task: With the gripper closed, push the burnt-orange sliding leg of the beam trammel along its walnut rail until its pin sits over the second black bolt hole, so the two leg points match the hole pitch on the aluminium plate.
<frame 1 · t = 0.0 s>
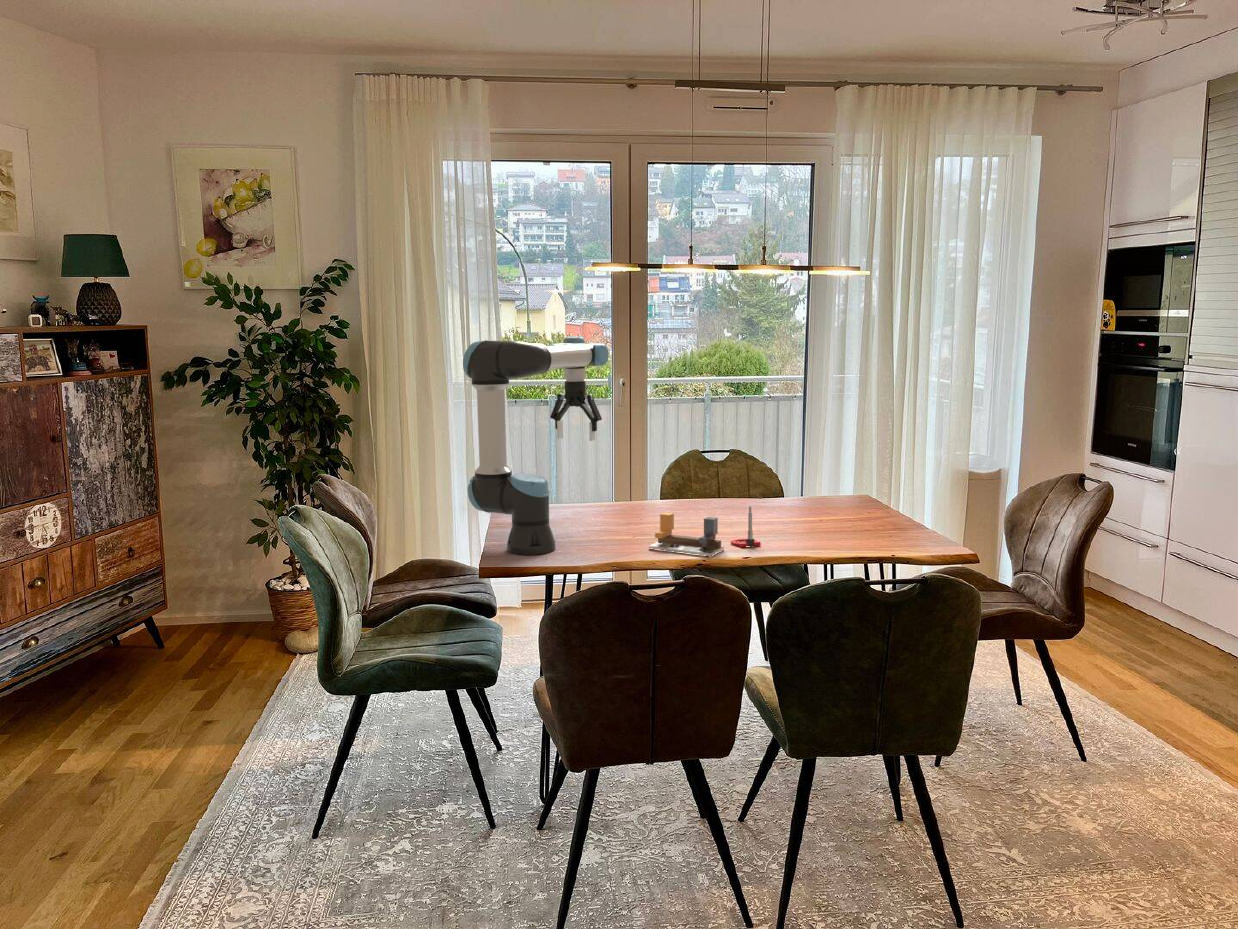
hand: (576, 439, 337), 28 cm above the table, tool pointing down, fingers open, 13 cm apart
fixed leg: (706, 552, 286), resting on bolt plate
tow hook: (744, 545, 296), on the table
bolt plate: (685, 549, 289), on the table
moving leg: (663, 528, 293), point 6 cm above the table, slide at 5.0 cm
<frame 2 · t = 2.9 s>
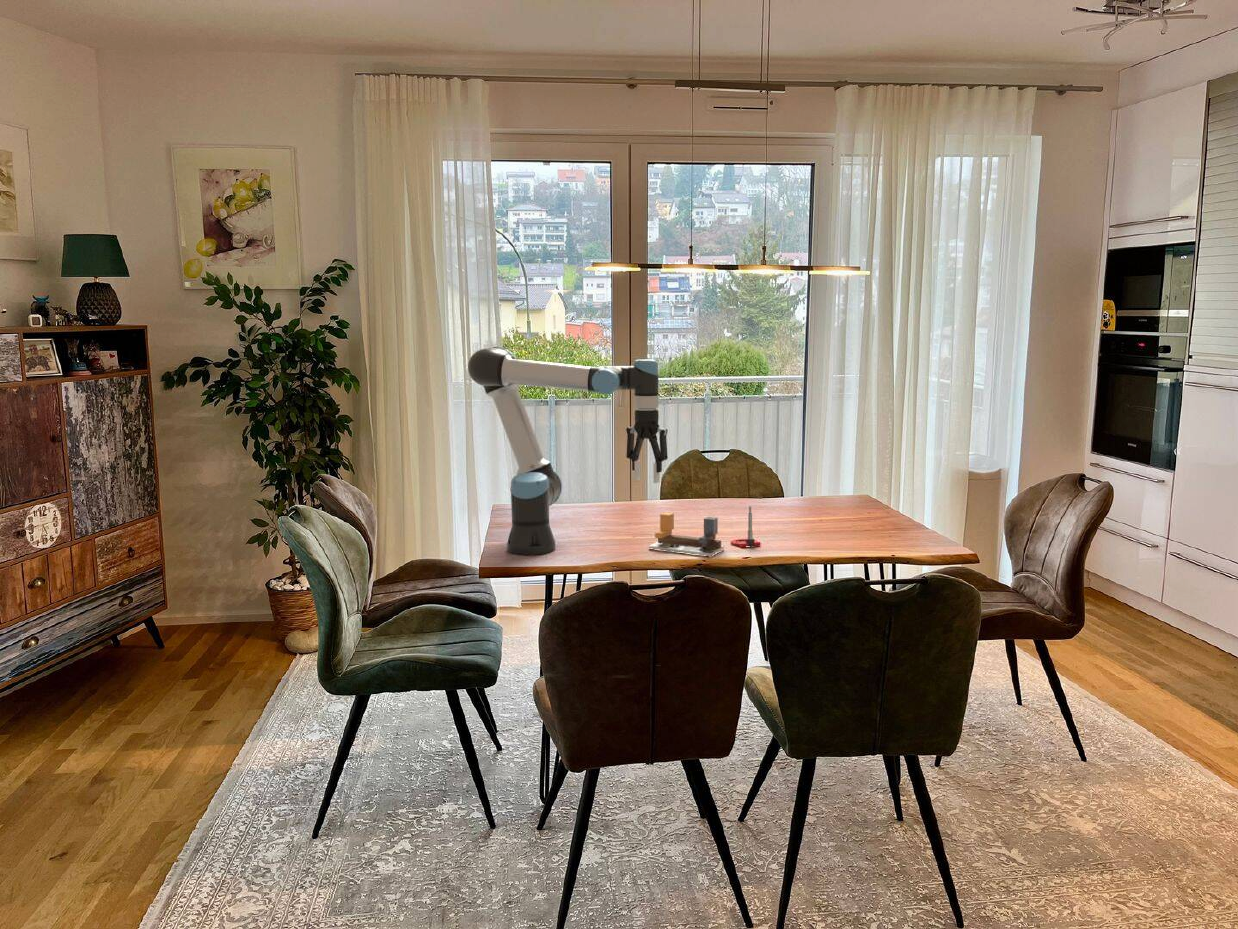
hand: (647, 481, 296), 20 cm above the table, tool pointing down, fingers open, 6 cm apart
nothing on the table moved.
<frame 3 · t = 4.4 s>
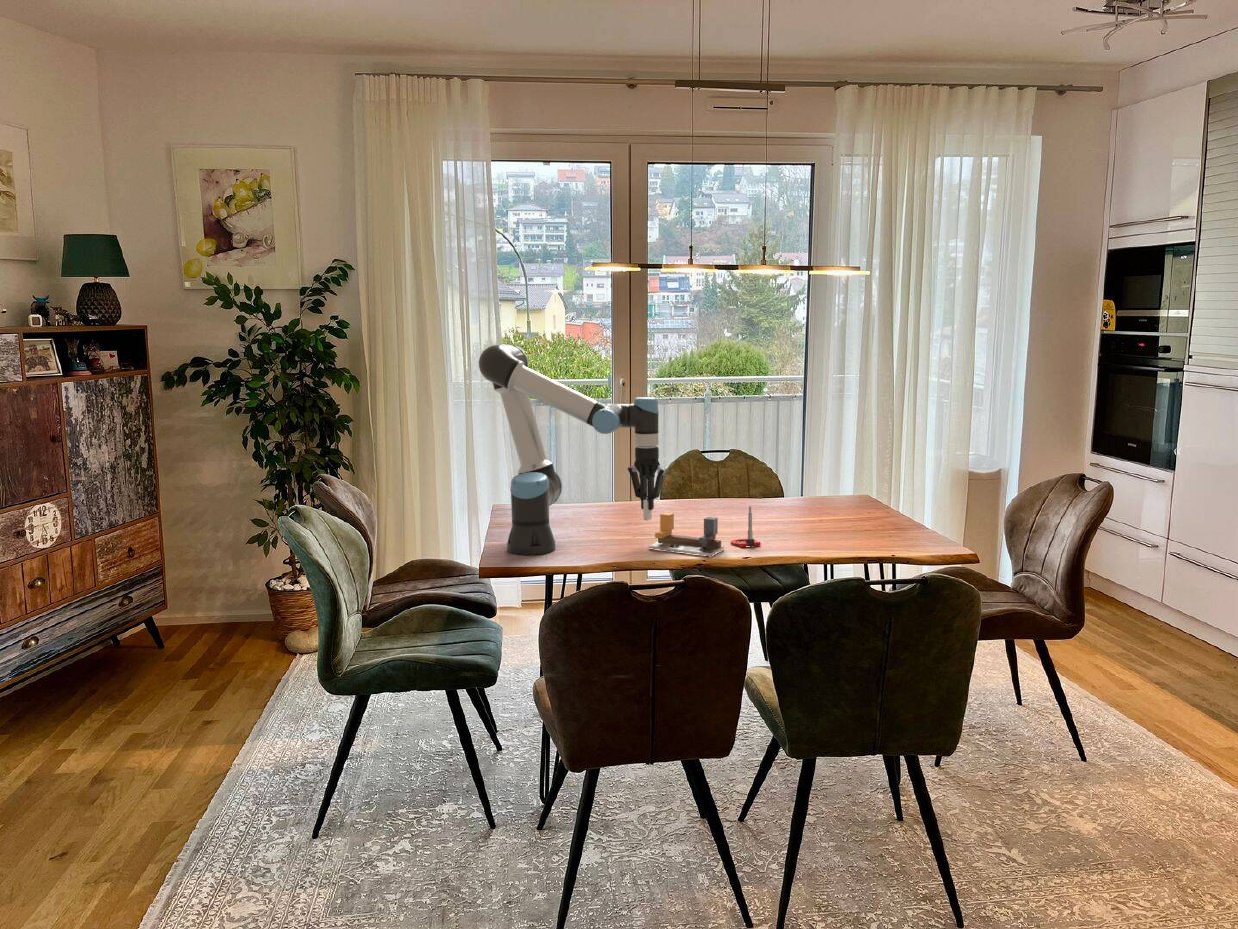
hand: (647, 519, 298), 8 cm above the table, tool pointing down, fingers closed
nothing on the table moved.
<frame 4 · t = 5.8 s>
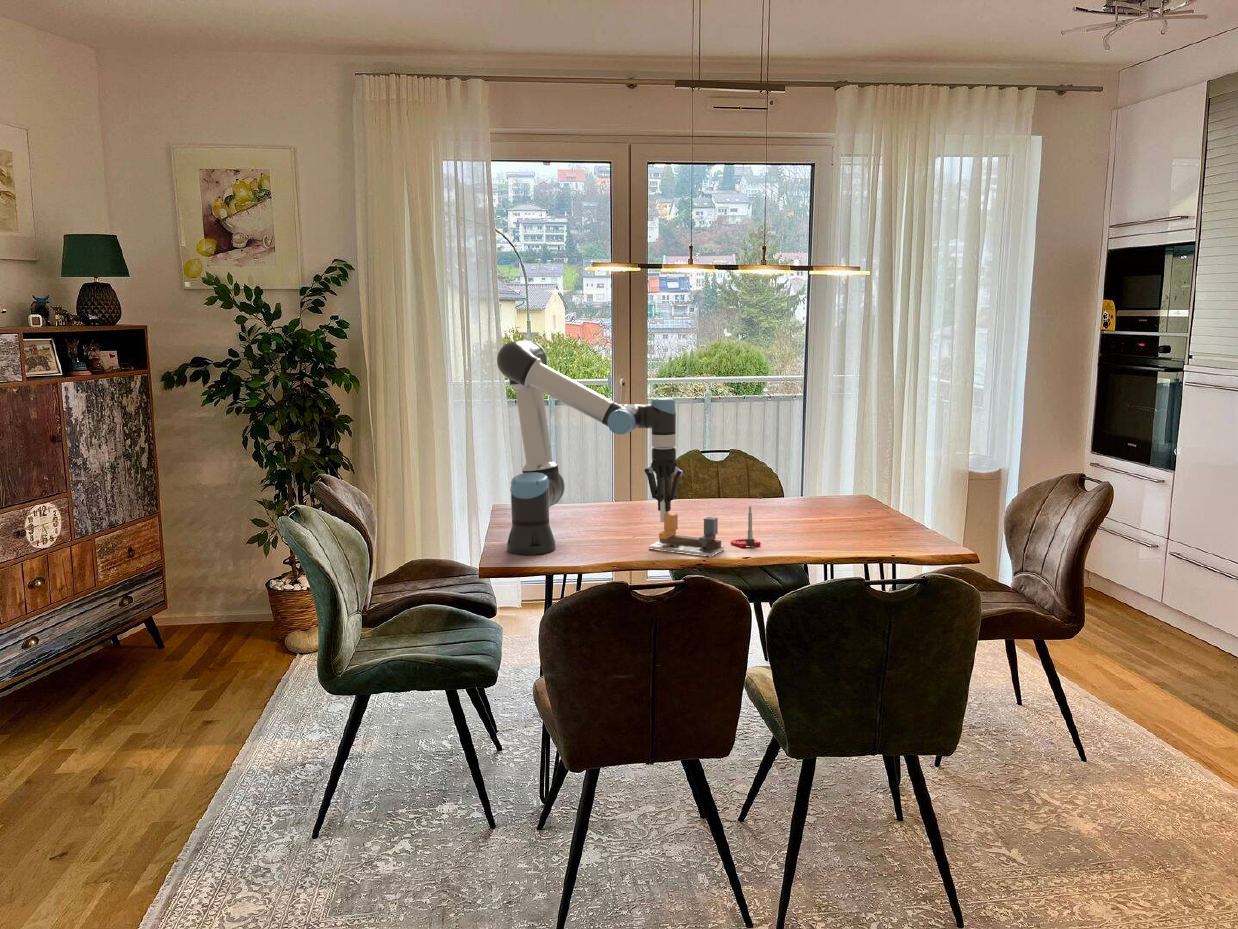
hand: (664, 521, 295), 8 cm above the table, tool pointing down, fingers closed
moving leg: (667, 528, 292), point 6 cm above the table, slide at 3.6 cm, touching gripper
everything else where it was.
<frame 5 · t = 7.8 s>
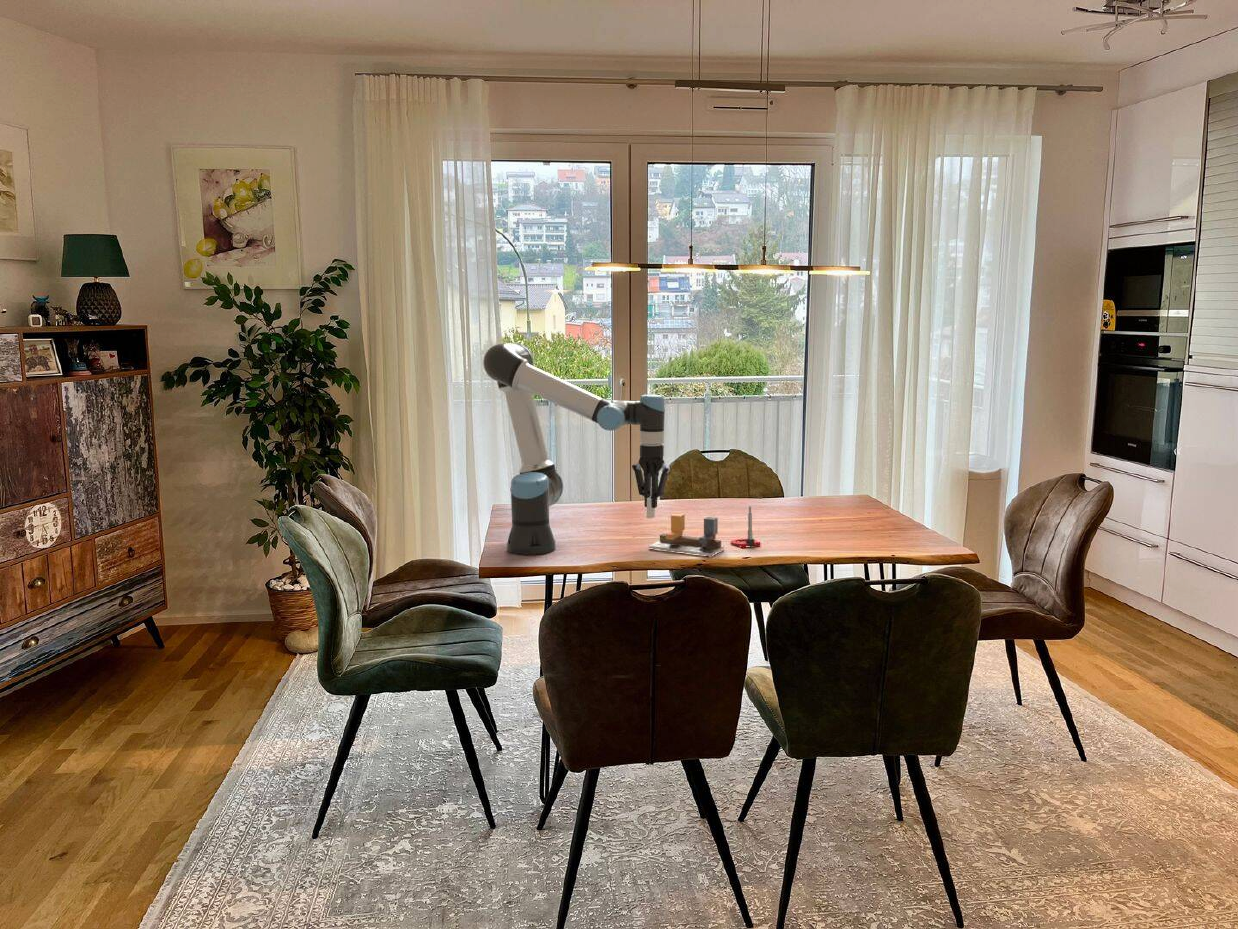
hand: (650, 517, 297), 8 cm above the table, tool pointing down, fingers closed
moving leg: (674, 529, 291), point 6 cm above the table, slide at 1.2 cm
everything else where it was.
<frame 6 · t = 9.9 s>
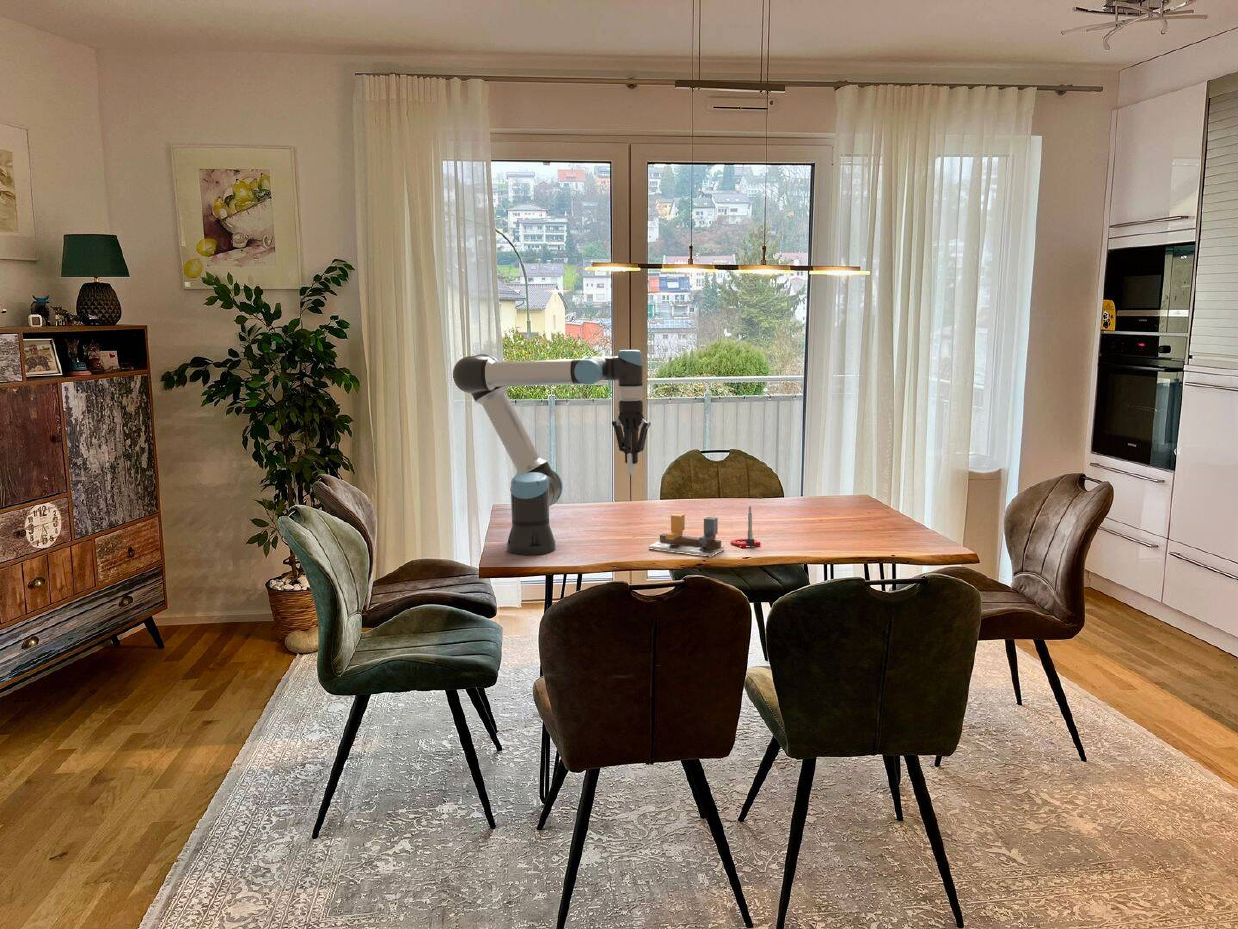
hand: (631, 473, 296), 22 cm above the table, tool pointing down, fingers closed
nothing on the table moved.
at the end: moving leg slide at 1.2 cm; tow hook moved 0.4 cm from its start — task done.
